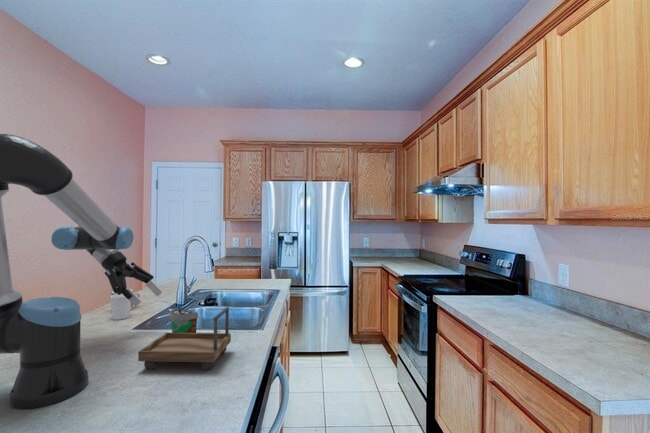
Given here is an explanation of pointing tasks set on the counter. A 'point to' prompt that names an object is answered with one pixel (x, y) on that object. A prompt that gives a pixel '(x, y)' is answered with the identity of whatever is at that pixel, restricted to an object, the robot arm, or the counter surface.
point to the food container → (183, 321)
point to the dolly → (188, 346)
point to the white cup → (120, 307)
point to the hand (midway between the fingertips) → (150, 298)
